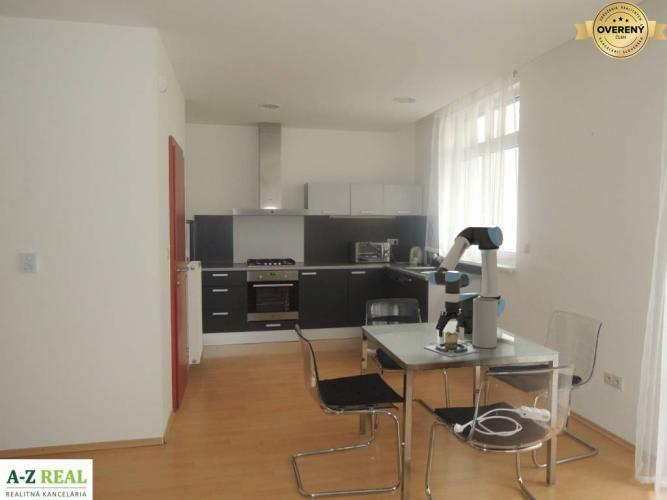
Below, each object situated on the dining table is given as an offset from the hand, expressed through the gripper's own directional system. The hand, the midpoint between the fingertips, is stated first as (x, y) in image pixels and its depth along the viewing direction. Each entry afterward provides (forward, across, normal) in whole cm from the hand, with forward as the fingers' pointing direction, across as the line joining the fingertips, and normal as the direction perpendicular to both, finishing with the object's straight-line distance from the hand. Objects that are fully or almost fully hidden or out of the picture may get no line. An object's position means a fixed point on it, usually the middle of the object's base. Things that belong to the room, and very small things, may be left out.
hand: (451, 341), depth 257 cm
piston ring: (+4, 0, 0) cm, 4 cm away
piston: (+4, 0, 0) cm, 4 cm away
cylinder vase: (+5, -21, +2) cm, 22 cm away
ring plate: (+4, 0, 0) cm, 4 cm away
